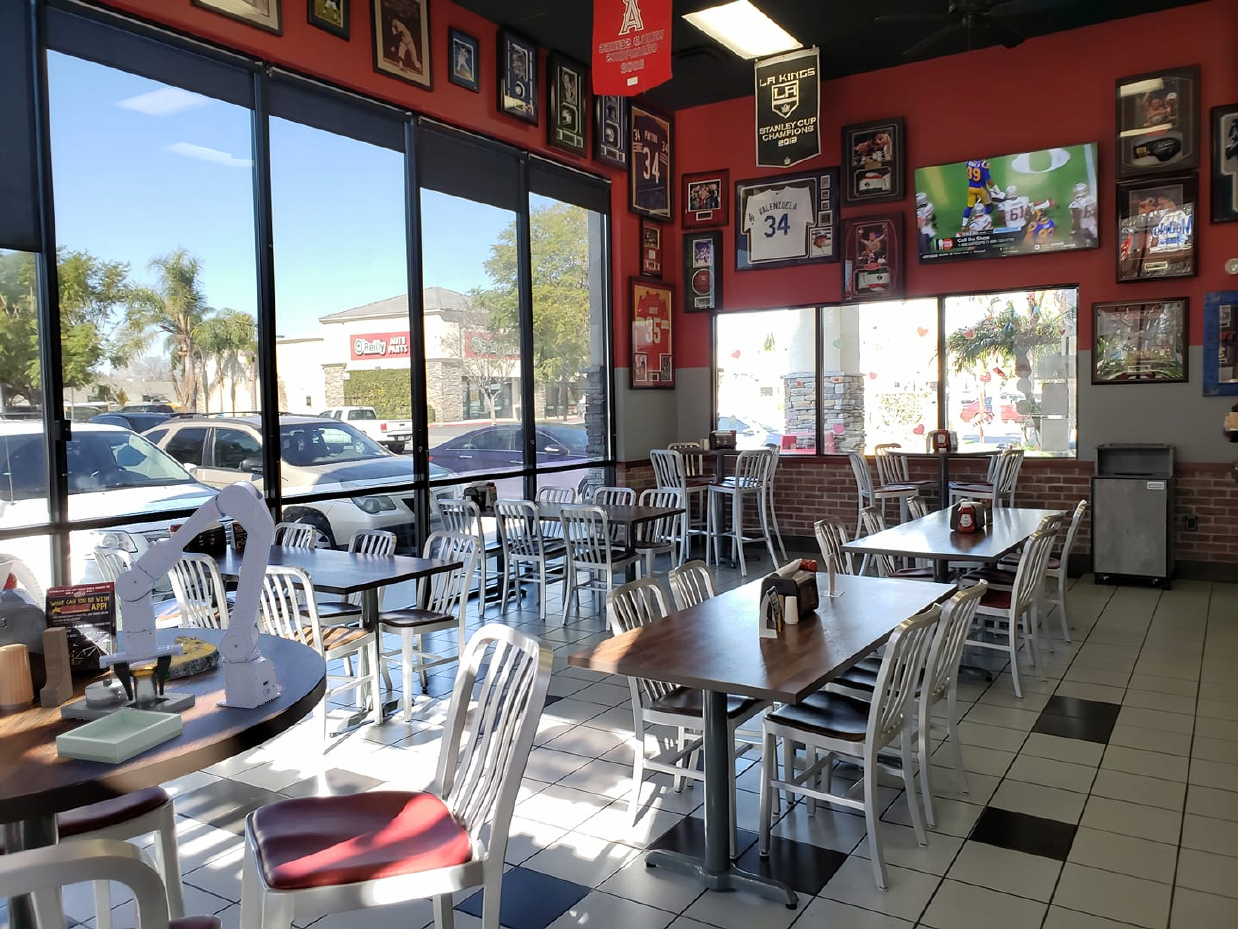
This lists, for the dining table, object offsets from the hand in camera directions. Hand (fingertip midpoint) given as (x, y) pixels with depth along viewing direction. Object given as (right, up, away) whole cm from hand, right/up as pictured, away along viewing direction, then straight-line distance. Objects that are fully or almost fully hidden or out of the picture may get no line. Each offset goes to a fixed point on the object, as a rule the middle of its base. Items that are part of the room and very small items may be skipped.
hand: (146, 697), depth 180 cm
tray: (+4, -4, -16) cm, 17 cm away
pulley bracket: (-4, -3, +2) cm, 6 cm away
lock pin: (0, -3, 0) cm, 3 cm away
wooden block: (-24, -4, +10) cm, 26 cm away
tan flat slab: (-6, -1, +32) cm, 33 cm away
